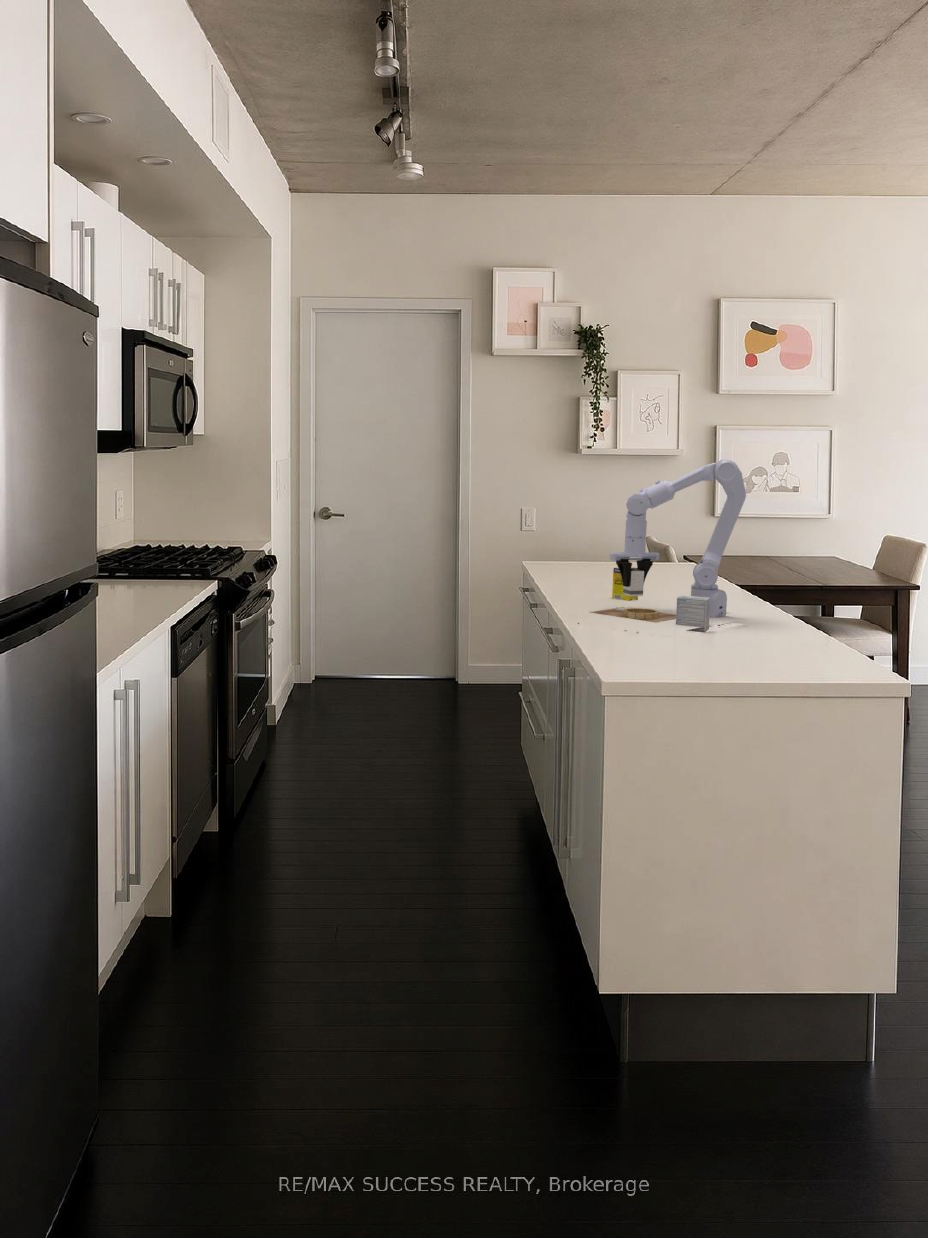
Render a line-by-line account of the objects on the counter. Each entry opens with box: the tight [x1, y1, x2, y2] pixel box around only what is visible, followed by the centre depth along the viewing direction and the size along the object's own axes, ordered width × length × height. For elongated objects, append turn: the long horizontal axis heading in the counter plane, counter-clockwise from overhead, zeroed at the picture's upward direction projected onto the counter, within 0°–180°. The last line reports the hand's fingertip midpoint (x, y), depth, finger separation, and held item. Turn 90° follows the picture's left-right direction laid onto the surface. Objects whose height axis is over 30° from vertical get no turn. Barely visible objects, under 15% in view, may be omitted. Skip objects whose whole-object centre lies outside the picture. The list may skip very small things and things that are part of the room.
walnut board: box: [589, 606, 676, 623], centre depth 311 cm, size 22×16×2 cm
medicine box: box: [675, 595, 710, 633], centre depth 295 cm, size 8×4×9 cm, turn 65°
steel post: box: [623, 567, 645, 597], centre depth 316 cm, size 4×4×8 cm
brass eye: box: [624, 607, 660, 620], centre depth 306 cm, size 9×9×2 cm
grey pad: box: [614, 606, 635, 612], centre depth 317 cm, size 7×7×1 cm
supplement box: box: [611, 566, 639, 602], centre depth 341 cm, size 6×6×11 cm
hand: (633, 586), depth 316 cm, fingers closed on steel post, 4 cm apart
